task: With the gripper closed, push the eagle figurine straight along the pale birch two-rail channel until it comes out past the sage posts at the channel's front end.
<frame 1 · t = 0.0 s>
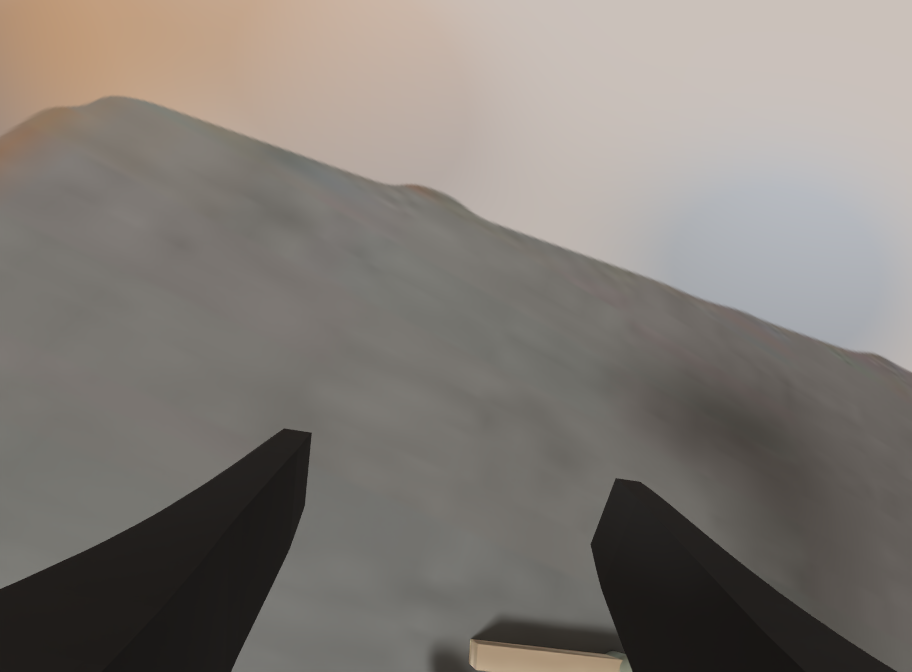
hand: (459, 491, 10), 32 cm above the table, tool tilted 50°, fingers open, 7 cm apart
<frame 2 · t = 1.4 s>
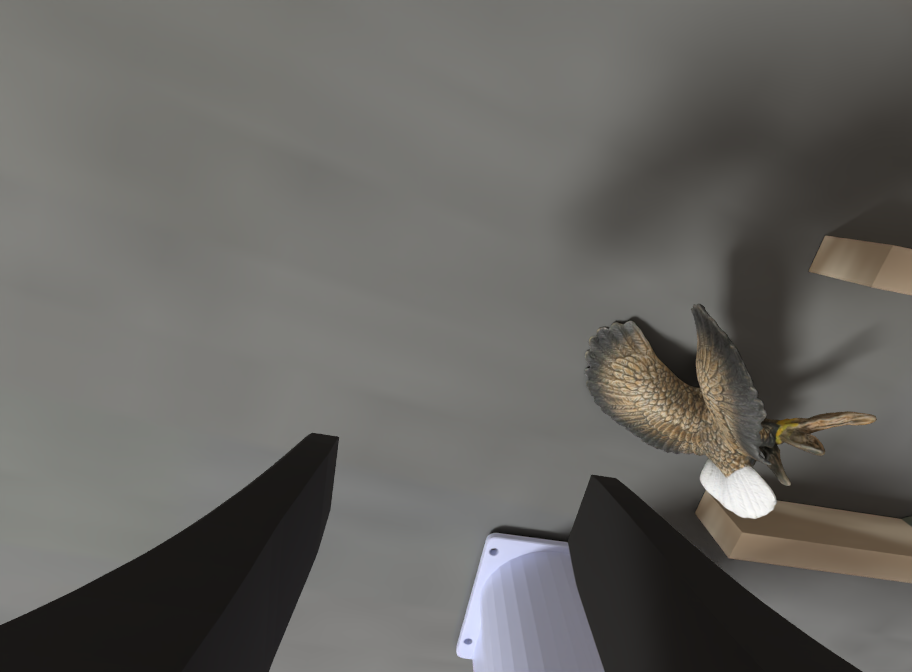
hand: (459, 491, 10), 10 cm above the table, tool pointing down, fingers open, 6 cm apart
rail channel: (862, 409, 22), on the table
eagle figurine: (674, 373, 21), on the table
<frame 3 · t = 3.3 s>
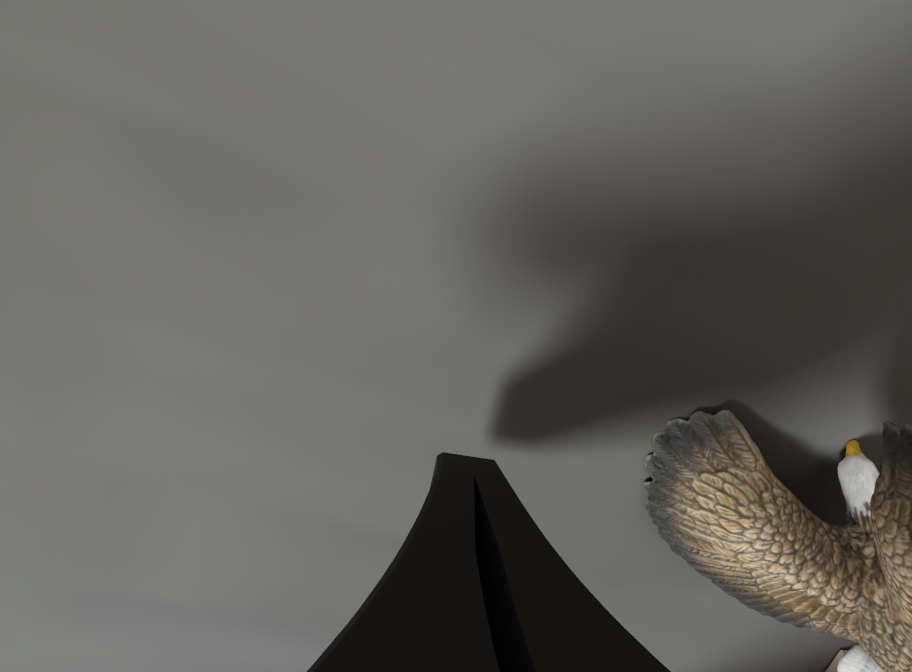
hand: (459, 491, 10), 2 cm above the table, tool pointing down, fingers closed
eagle figurine: (785, 484, 13), on the table
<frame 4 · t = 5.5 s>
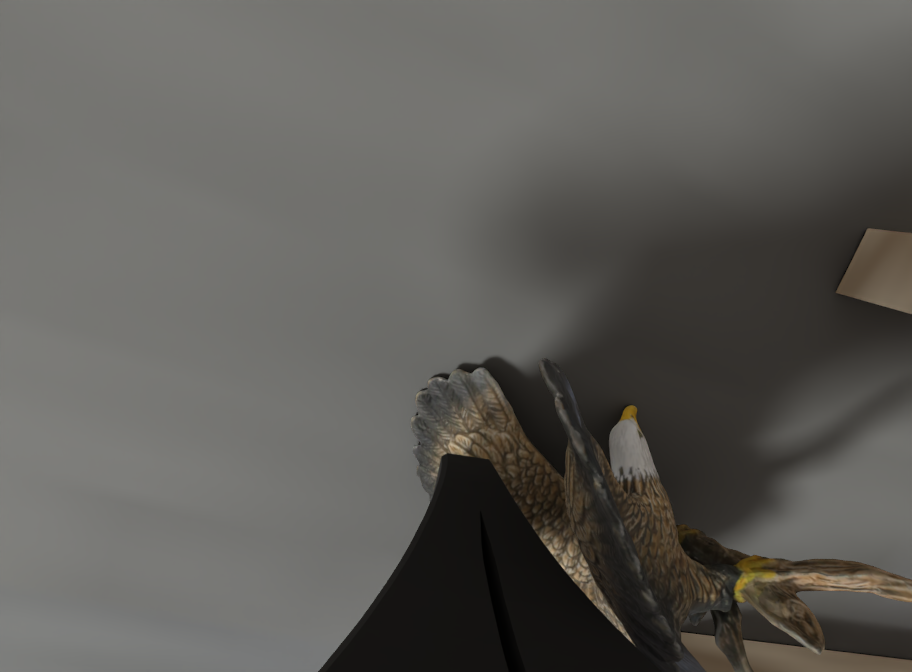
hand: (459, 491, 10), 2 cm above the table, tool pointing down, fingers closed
eagle figurine: (572, 453, 12), on the table, touching gripper
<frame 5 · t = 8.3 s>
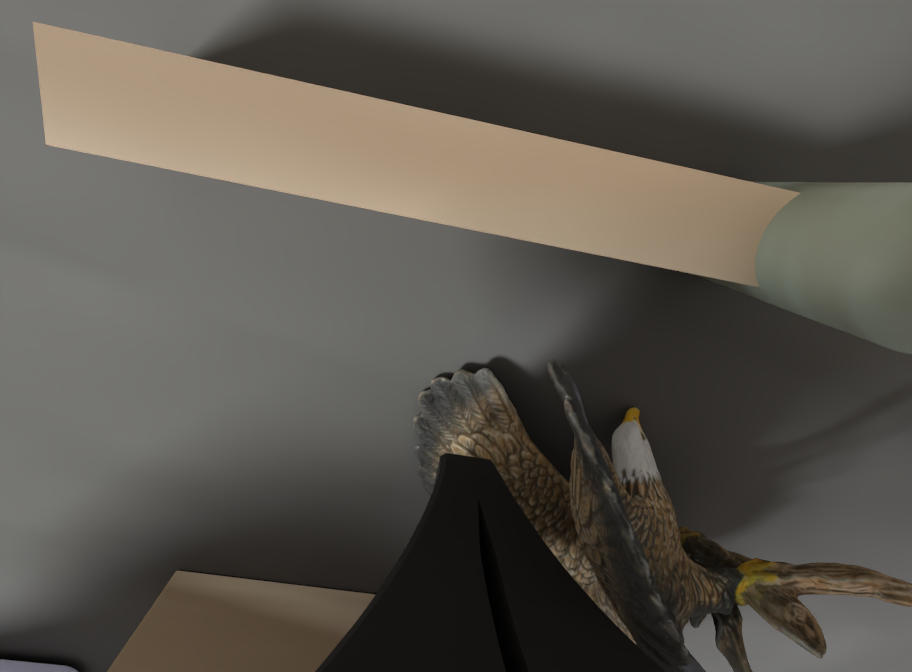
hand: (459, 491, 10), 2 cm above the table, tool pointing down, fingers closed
rail channel: (399, 434, 12), on the table
eagle figurine: (574, 455, 12), on the table, touching gripper
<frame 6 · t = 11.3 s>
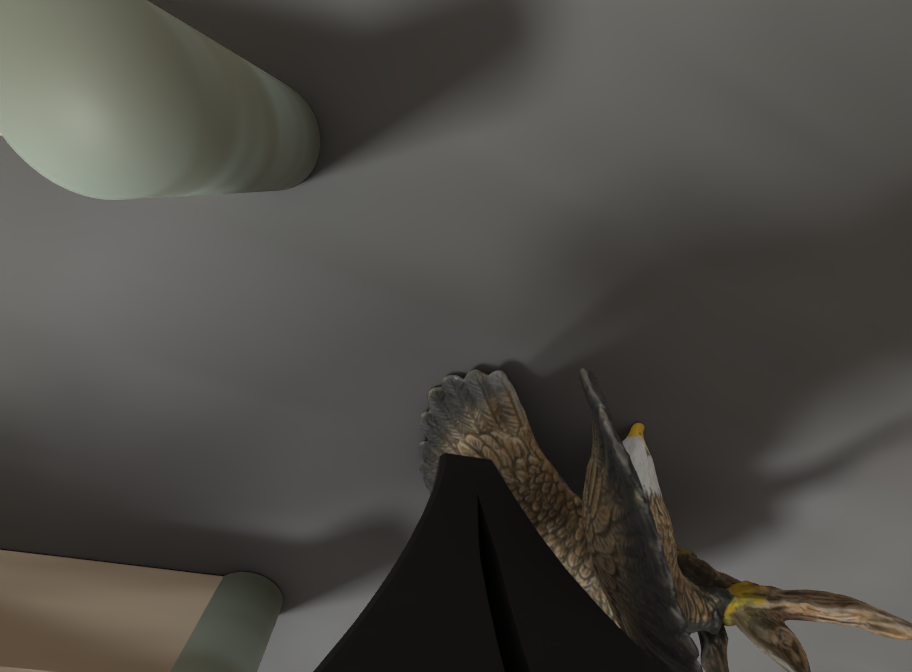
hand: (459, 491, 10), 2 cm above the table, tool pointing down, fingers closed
eagle figurine: (574, 464, 13), on the table, touching gripper
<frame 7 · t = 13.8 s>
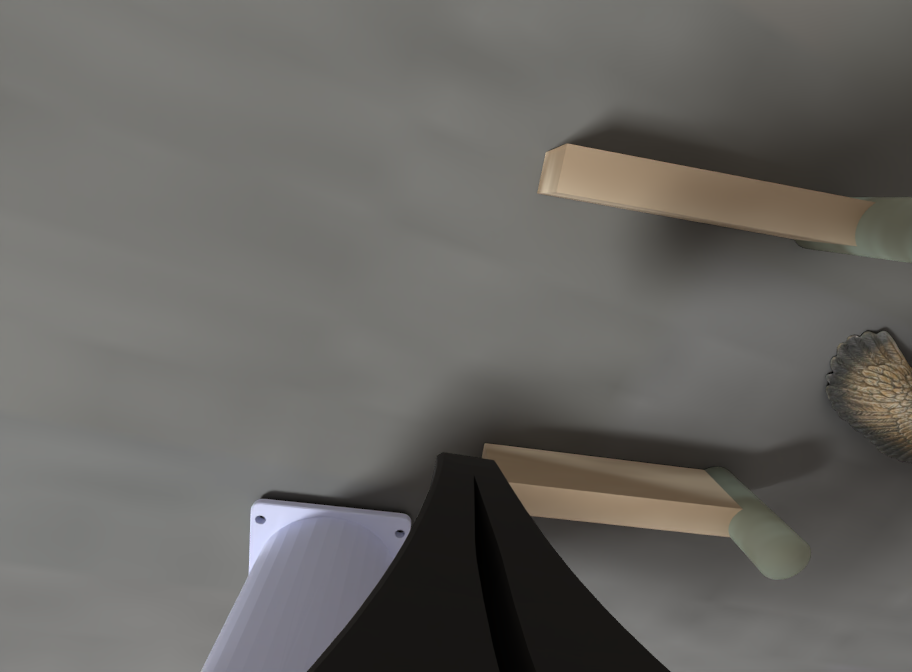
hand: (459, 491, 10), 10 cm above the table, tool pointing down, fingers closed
rail channel: (632, 347, 20), on the table
eagle figurine: (901, 387, 22), on the table
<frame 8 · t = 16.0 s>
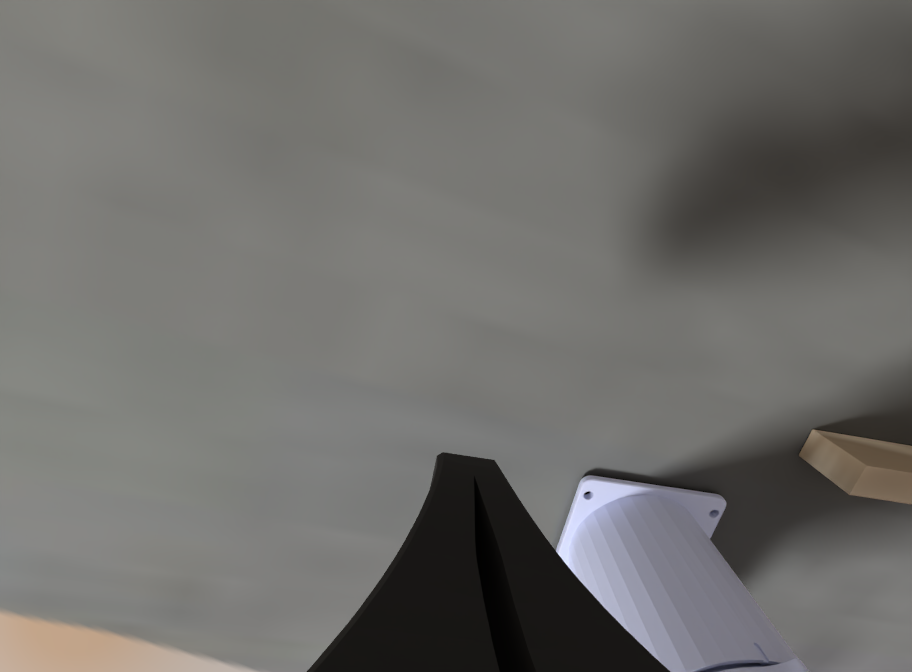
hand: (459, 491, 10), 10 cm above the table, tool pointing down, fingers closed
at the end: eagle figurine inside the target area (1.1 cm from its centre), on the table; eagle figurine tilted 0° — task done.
